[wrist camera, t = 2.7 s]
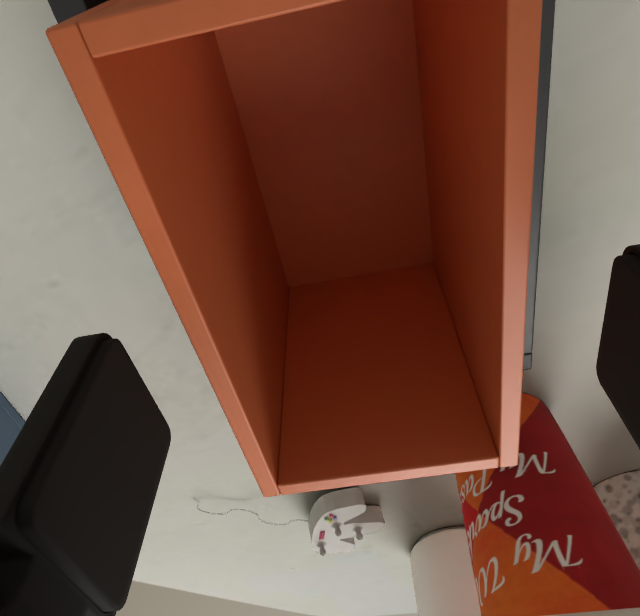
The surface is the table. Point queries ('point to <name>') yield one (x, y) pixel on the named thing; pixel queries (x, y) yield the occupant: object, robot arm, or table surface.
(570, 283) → the table surface
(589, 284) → the table surface
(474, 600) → the can
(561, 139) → the table surface
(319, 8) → the inner bin
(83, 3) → the outer bin
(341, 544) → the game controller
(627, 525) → the mug
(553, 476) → the paper cup
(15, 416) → the tray
